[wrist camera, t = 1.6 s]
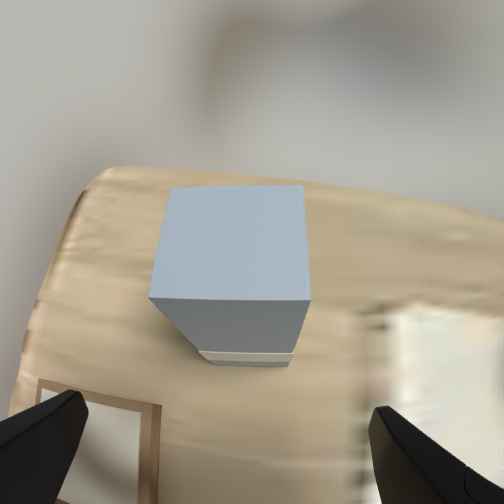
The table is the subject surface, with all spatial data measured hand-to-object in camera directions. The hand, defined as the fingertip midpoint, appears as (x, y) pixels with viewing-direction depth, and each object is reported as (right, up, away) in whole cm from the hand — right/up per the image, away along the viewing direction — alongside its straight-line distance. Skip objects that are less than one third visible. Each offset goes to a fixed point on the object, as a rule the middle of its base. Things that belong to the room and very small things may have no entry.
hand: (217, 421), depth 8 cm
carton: (+1, -1, +13) cm, 13 cm away
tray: (-10, -10, +9) cm, 17 cm away
